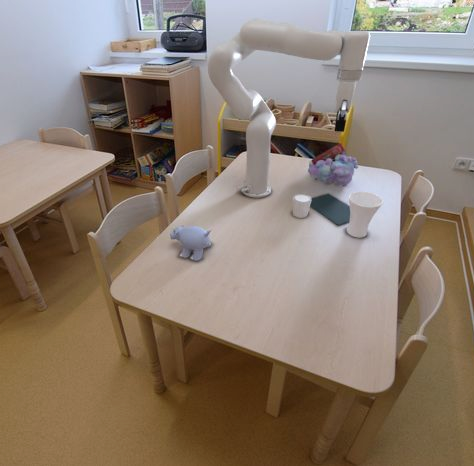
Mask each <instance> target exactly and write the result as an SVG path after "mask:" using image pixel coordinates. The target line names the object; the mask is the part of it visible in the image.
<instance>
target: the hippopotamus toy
mask: <svg viewBox="0 0 474 466" xmlns="http://www.w3.org/2000/svg"><path fill="white" fill-rule="evenodd" d="M184 226H185V225H183V224H181V226H178V227H176V228H173V230H172V231H171V232H169V237H170V240H173V241H175V240H176V241H179V243H180V244H181V246H182V251H181V252H180V254H179V257H180V258H184V259H187V258H189V259H190V260H193V261H195V262H197V261H201V260H202V258H203V253H204V249H206V248H210V247H211V245H212V243H211V238H210V233H211V232H212V230H213V229H212V228H210V229H209V230H208V231H207V230H206V229H205V228H202V227H200V226H197V225H196V226H195V225H192V226H191V225H190V226H189V225H188V226H185V227H184ZM192 251H193V253H192Z"/></svg>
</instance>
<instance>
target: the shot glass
mask: <svg viewBox="0 0 474 466" xmlns="http://www.w3.org/2000/svg"><path fill="white" fill-rule="evenodd" d="M311 201H312V197H311V196H310V195H308V194H305V193H298V194H294V195H293V197H292V215H293V216H294V217H296V218H299V219H303V218H307V216H308V215H309V211H310V208H311V207H310V204H311Z"/></svg>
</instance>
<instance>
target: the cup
mask: <svg viewBox="0 0 474 466" xmlns="http://www.w3.org/2000/svg"><path fill="white" fill-rule="evenodd" d="M348 203H349V206H350V222H348V226H347V228H346V233H347V234H348V235H349V236H351V237H354V238H365V237H366V236H367V234H368V230H369V229H368V227H369V226H370V223H371V221H372V219H373V217H374V216H375V215H376V213H377V212H378V210H380V208H381V206H382V205H383V204H384V200H383V198H382V197H381V196H379V195H377V194H375V193H373V192H368V191H355V192H351V193H350V194H348Z"/></svg>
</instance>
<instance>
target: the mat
mask: <svg viewBox="0 0 474 466" xmlns="http://www.w3.org/2000/svg"><path fill="white" fill-rule="evenodd" d="M311 199H312V201H311V204H310V208H312V209H313V210H314V211H316V212H317V213H319V214H321V216H323V217H325V218H326V219H327V220H329V221H331V222H332V223H334V224H335V225H336V226H341V225H344V224H347V223H349V222H350V205H348V204H346V203H345V202H343V201H341V199H338V198H337V197H335V196H333V195H332V194H330V193H326V194H321V195H319V196H316V197H315V196H314V197H311Z"/></svg>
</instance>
